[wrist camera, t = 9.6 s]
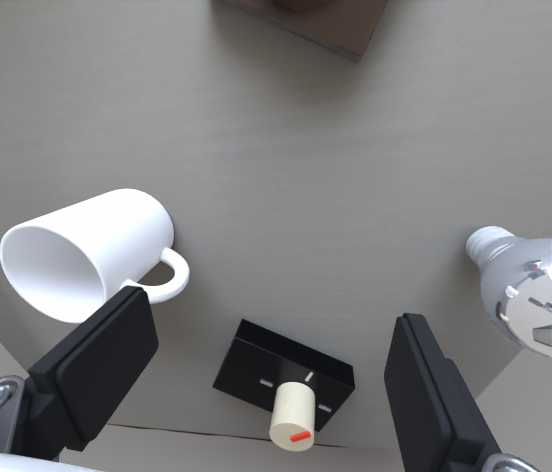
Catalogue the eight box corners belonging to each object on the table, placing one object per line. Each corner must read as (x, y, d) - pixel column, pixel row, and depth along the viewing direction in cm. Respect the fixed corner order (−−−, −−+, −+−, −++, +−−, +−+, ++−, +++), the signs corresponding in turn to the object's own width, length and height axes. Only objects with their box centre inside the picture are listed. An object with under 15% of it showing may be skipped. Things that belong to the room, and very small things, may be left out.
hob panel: (352, 365, 32) (355, 390, 29) (319, 408, 36) (318, 434, 33) (242, 318, 32) (234, 338, 29) (220, 366, 36) (211, 388, 33)
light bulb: (548, 221, 23) (755, 320, 12) (487, 284, 26) (608, 410, 15) (471, 186, 22) (609, 253, 12) (420, 254, 25) (491, 357, 15)
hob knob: (291, 412, 32) (286, 458, 28) (268, 389, 31) (259, 433, 27) (323, 401, 31) (322, 448, 27) (300, 376, 30) (296, 421, 26)
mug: (220, 229, 28) (168, 288, 18) (194, 287, 31) (138, 361, 22) (111, 171, 27) (0, 201, 18) (96, 237, 30) (-3, 291, 21)
